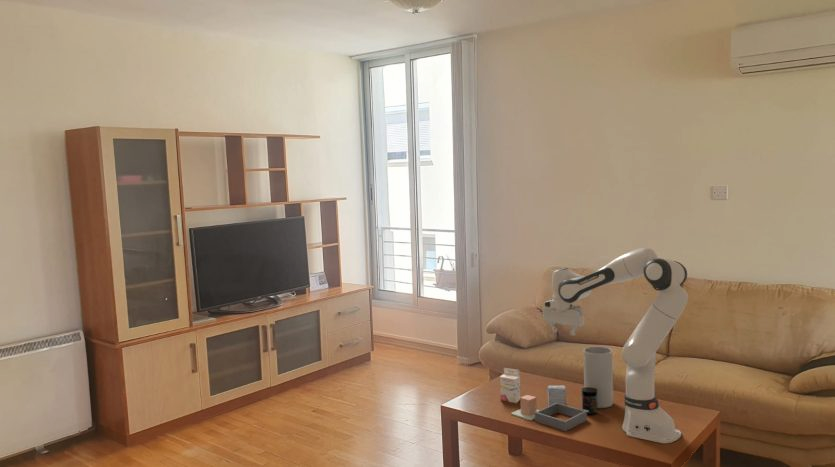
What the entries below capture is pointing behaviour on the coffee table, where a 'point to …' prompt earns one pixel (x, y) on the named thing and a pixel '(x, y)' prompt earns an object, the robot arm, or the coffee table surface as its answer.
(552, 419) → the parts bin
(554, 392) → the medicine box
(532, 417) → the pad
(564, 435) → the coffee table surface
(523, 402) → the salmon pink block
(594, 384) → the cylinder vase
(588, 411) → the supplement container
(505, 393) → the ink cartridge box
